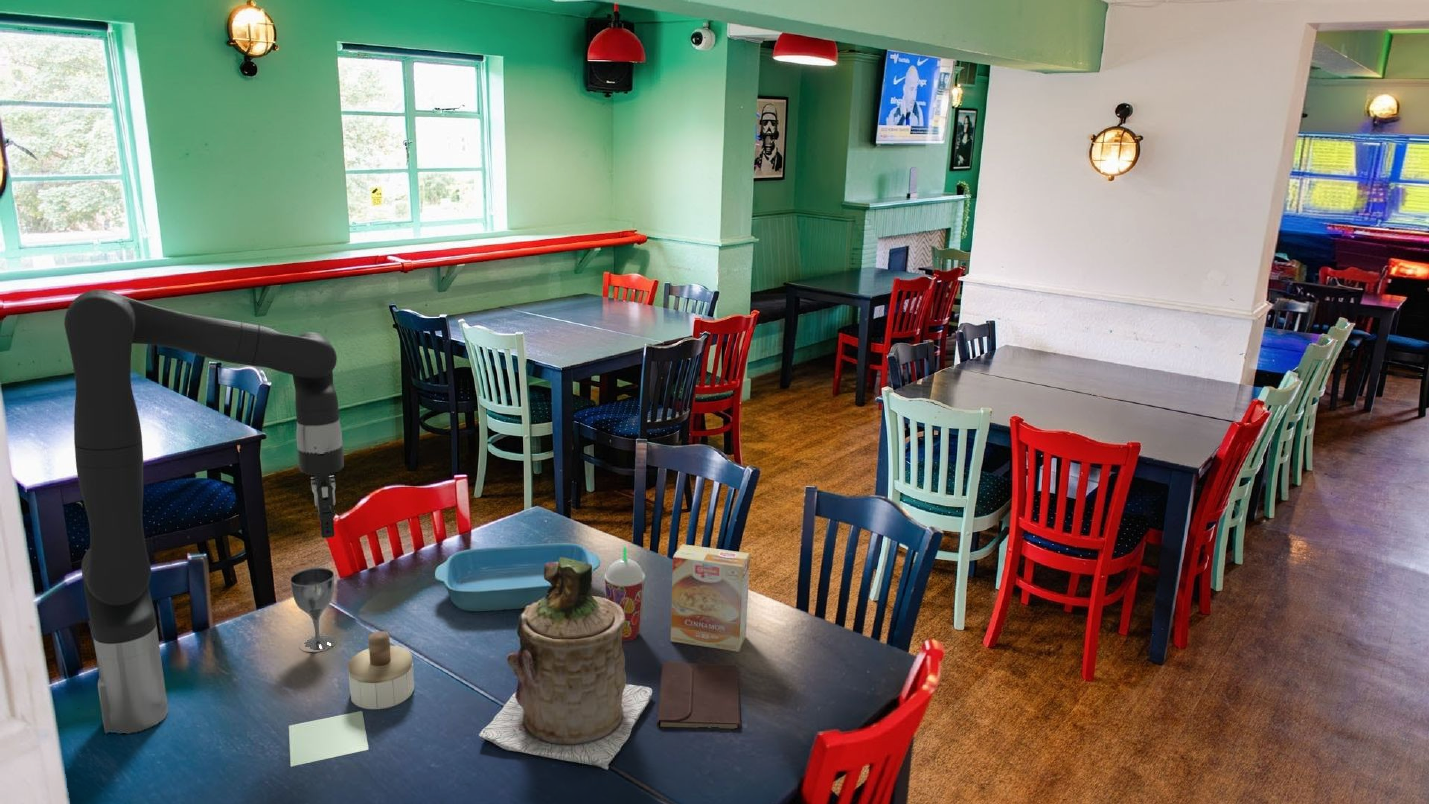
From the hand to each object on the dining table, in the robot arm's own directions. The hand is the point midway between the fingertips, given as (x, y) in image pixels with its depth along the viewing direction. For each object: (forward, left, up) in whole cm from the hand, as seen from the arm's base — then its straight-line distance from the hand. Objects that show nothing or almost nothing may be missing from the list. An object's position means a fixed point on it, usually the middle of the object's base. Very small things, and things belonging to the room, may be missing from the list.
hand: (326, 528), depth 174 cm
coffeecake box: (+72, -14, -30) cm, 79 cm away
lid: (+7, -11, -24) cm, 27 cm away
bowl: (+7, -11, -30) cm, 33 cm away
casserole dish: (+40, +21, -31) cm, 55 cm away
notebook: (+62, -33, -31) cm, 76 cm away
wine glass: (-3, +13, -30) cm, 33 cm away
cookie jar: (+37, -31, -30) cm, 57 cm away
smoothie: (+56, -6, -30) cm, 64 cm away
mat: (-3, -22, -30) cm, 37 cm away
